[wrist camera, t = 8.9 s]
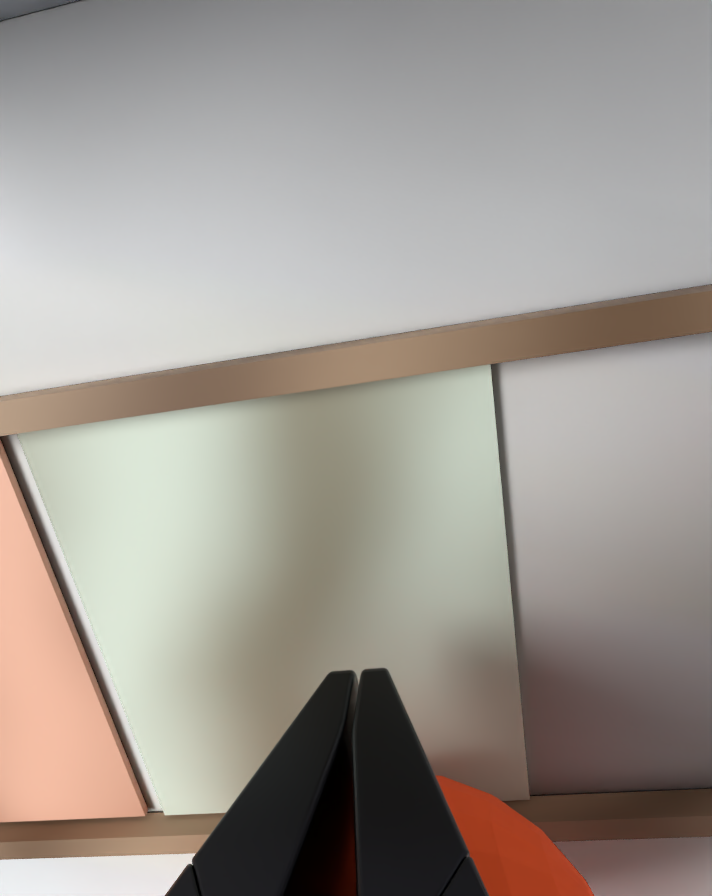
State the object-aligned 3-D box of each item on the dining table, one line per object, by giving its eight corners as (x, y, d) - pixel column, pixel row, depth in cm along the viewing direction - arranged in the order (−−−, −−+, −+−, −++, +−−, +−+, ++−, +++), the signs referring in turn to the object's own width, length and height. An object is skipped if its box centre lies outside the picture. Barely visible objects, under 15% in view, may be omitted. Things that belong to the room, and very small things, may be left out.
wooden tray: (1221, 203, 8) (1481, 192, 6) (1036, 796, 11) (1159, 905, 10) (-452, 467, 12) (-615, 510, 10) (-192, 843, 15) (-275, 927, 13)
